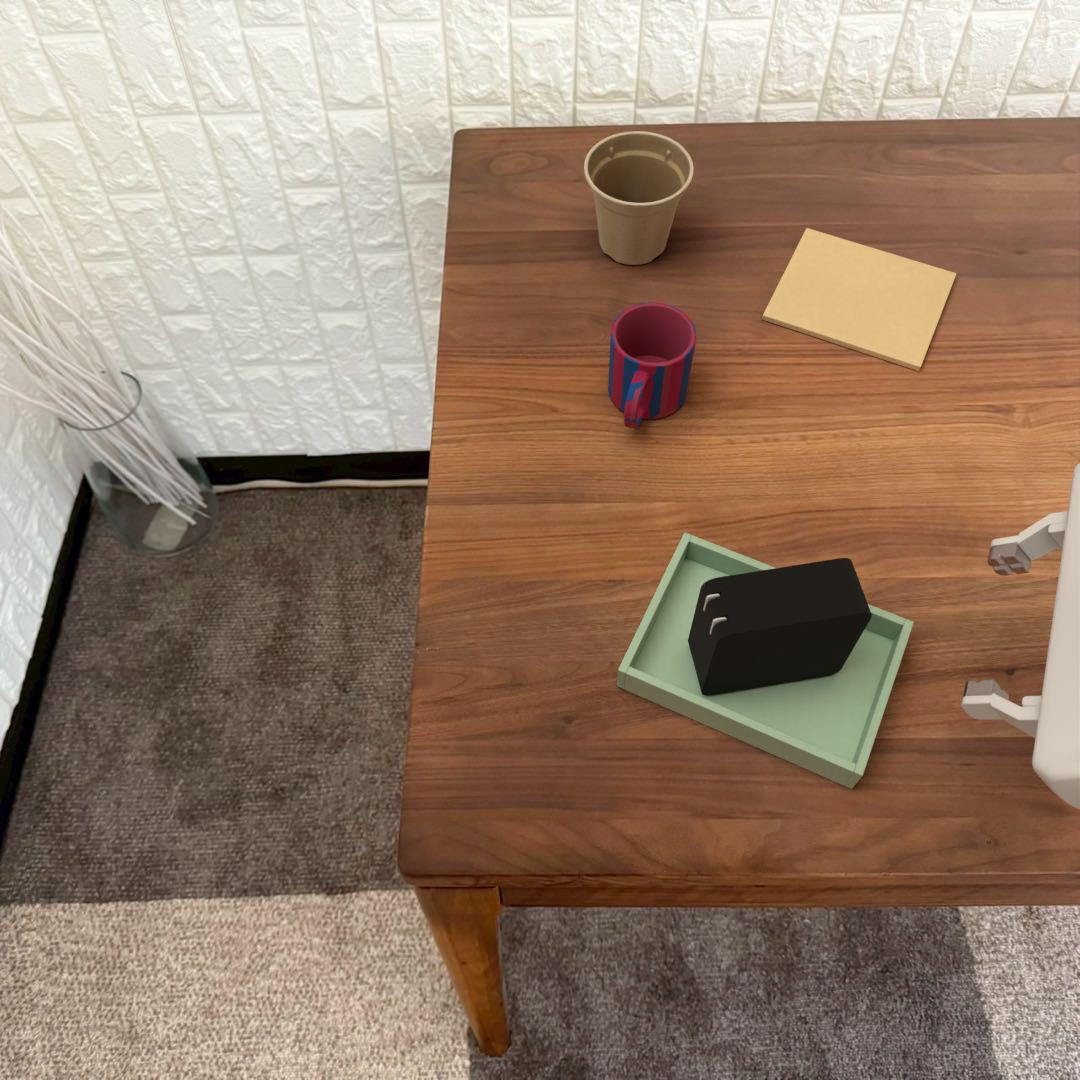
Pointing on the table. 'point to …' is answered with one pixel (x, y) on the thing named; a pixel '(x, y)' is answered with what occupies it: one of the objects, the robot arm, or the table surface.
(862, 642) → the tray
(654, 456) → the table surface
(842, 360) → the table surface
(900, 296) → the cork mat
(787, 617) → the electronic device
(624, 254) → the flower pot
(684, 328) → the mug
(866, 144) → the table surface
